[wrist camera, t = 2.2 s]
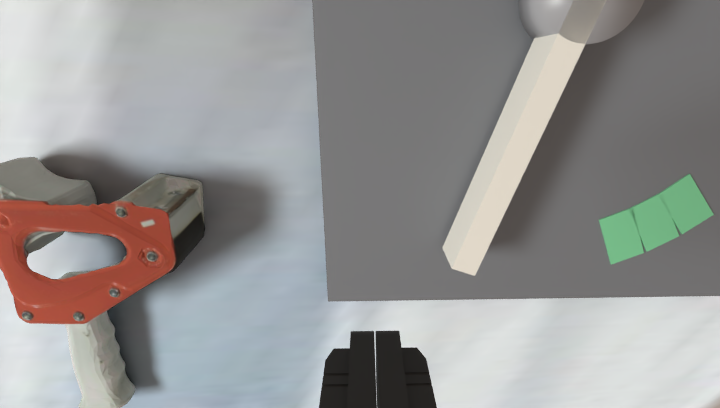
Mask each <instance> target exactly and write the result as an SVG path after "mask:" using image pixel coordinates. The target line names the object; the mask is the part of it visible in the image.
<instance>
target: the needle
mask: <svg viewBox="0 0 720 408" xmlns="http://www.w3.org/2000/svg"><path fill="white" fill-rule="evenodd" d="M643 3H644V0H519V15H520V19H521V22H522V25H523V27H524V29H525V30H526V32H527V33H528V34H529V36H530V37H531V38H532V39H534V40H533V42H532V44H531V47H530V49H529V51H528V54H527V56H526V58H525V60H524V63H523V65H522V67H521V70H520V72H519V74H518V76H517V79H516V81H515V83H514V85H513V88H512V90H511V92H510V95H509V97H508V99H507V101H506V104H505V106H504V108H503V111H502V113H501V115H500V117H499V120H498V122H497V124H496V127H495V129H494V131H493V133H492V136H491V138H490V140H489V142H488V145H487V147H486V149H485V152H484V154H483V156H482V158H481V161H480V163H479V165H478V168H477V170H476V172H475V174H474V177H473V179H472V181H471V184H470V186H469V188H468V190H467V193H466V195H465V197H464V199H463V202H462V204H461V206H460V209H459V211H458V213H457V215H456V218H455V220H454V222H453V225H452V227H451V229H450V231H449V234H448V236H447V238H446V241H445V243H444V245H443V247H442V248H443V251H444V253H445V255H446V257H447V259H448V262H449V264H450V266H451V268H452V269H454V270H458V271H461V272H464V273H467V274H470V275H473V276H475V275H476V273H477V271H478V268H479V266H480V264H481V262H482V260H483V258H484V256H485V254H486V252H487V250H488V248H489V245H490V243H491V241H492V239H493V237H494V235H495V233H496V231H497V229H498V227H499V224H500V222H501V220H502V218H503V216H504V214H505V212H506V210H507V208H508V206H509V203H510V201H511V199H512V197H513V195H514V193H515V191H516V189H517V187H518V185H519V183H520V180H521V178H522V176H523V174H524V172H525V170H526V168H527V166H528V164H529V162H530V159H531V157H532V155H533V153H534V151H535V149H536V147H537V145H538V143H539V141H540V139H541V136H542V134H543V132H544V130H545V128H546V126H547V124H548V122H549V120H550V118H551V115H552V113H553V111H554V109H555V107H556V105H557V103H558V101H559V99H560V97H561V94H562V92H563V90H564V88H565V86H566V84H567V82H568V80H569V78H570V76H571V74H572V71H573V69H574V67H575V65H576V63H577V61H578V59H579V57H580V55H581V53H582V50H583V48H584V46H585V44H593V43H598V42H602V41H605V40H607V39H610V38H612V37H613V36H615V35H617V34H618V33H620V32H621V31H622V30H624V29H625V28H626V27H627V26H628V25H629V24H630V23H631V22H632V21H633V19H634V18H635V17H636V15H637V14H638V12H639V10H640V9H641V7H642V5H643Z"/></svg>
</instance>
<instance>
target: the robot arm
mask: <svg viewBox="0 0 720 408" xmlns="http://www.w3.org/2000/svg"><path fill="white" fill-rule="evenodd" d="M376 385H377V403H376ZM319 408H437V407H436V402H435V398H434V393H433V388H432V385H431V379H430V375H429V370H428V365H427V361H426V358H425V357H424V356H423V355H422V353H421V352H420V351H419V350H418V349H417V348H401V342H400V334H399V331H376V376H375V349H374V331H353V332H351V338H350V349H333V351H332V352H331V353H330V355H329V356H328V358H327V359H326V361H325V368H324V376H323V383H322V390H321V397H320V405H319Z"/></svg>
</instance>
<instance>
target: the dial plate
mask: <svg viewBox="0 0 720 408" xmlns="http://www.w3.org/2000/svg"><path fill="white" fill-rule="evenodd" d="M312 3H313V22H314V41H315V60H316V79H317V98H318V118H319V137H320V156H321V175H322V194H323V213H324V232H325V251H326V270H327V289H328V301H390V300H460V299H529V298H599V297H668V296H720V0H644V3H643V5H642V7H641V9H640V10H639V12H638V14H637V15H636V17H635V18H634V19H633V21H632V22H631V23H630V24H629V25H628V26H627V27H626V28H625V29H624V30H622V31H621V32H620V33H618V34H617V35H615V36H613V37H612V38H610V39H607V40H605V41H602V42H598V43H593V44H585V46H584V48H583V50H582V53H581V55H580V57H579V59H578V61H577V63H576V65H575V67H574V69H573V71H572V74H571V76H570V78H569V80H568V82H567V84H566V86H565V88H564V90H563V92H562V94H561V97H560V99H559V101H558V103H557V105H556V107H555V109H554V111H553V113H552V115H551V118H550V120H549V122H548V124H547V126H546V128H545V130H544V132H543V134H542V136H541V139H540V141H539V143H538V145H537V147H536V149H535V151H534V153H533V155H532V157H531V159H530V162H529V164H528V166H527V168H526V170H525V172H524V174H523V176H522V178H521V180H520V183H519V185H518V187H517V189H516V191H515V193H514V195H513V197H512V199H511V201H510V203H509V206H508V208H507V210H506V212H505V214H504V216H503V218H502V220H501V222H500V224H499V227H498V229H497V231H496V233H495V235H494V237H493V239H492V241H491V243H490V245H489V248H488V250H487V252H486V254H485V256H484V258H483V260H482V262H481V264H480V266H479V268H478V271H477V273H476V275H475V276H473V275H470V274H467V273H464V272H461V271H458V270H454V269H452V268H451V266H450V264H449V262H448V259H447V257H446V255H445V253H444V251H443V248H442V247H443V245H444V243H445V241H446V238H447V236H448V234H449V231H450V229H451V227H452V225H453V222H454V220H455V218H456V215H457V213H458V211H459V209H460V206H461V204H462V202H463V199H464V197H465V195H466V193H467V190H468V188H469V186H470V184H471V181H472V179H473V177H474V174H475V172H476V170H477V168H478V165H479V163H480V161H481V158H482V156H483V154H484V152H485V149H486V147H487V145H488V142H489V140H490V138H491V136H492V133H493V131H494V129H495V127H496V124H497V122H498V120H499V117H500V115H501V113H502V111H503V108H504V106H505V104H506V101H507V99H508V97H509V95H510V92H511V90H512V88H513V85H514V83H515V81H516V79H517V76H518V74H519V72H520V70H521V67H522V65H523V63H524V60H525V58H526V56H527V54H528V51H529V49H530V47H531V44H532V42H533V40H534V39H532V38H531V37H530V36H529V34H528V33H527V32H526V30H525V29H524V27H523V25H522V22H521V19H520V15H519V0H312Z"/></svg>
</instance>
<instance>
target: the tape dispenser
mask: <svg viewBox="0 0 720 408" xmlns="http://www.w3.org/2000/svg"><path fill="white" fill-rule="evenodd" d="M64 231H68V232H85V233H99V234H103V235H108V236H112V237H116V238H117V239H119V240H120V241H121V242H122V243H123V244H124V246H125V247H126V252H127V254H126V256H125V257H124V258H123V260H122V261H121V262H119V263H116V264H114V265H112V266H108V267H104V268H101V269H98V270H96V271H86V272H69V273H66V274H64V275H63V276H62V277H61V278H59V279H50V278H48V277H45V276H42V275H40V274H38V273H36V272H33V271H32V270H31V269H30V268H29V267H28V265H27V257H28V254H29V253H31V252H33V251H36V250H39V249H41V248H42V247H44V246H45V245H47V244H48V243H50V242H52V241H53V240H55V239H56V238H58V237H59V236H61V235H62V234H63V233H64ZM204 231H205V226H204V209H203V186H202V183H201V182H200V181H197V180H194V179H188V178H182V177H176V176H170V175H165V174H156V175H155V176H153V177H152V178H150V179H149V180H148V181H146V182H145V183H143V184H142V185H140V186H139V187H137V188H136V189H134V190H133V191H131V192H130V193H128V194H127V195H125V196H124V197H122V198H121V199H119V200H118V201H114V202H112V203H110V204H107V203H103V204H100V205H97V200H96V195H95V193H94V190H93V188H92V186H91V184H90V183H89V182H88V181H87V180H74V179H67V178H64V177H60V176H57V175H55V174H54V173H52V172H51V171H49V170H48V169H46V168H45V167H44V165H43V164H42V163H41V162H40V161H39V160H38V158H35V157H27V158H17V159H13V160H10V161H7V162H3V163H0V269H1V270H2V271H3V273H4V276H5V279H6V280H7V282H8V286H9V288H10V291H11V293H12V295H13V296H14V303H15V307H16V311H17V314H18V316H19V318H21V319H22V320H23V321H25V322H27V323H43V324H65V326H66V329H67V333H68V342H69V349H70V354H71V359H72V364H73V368H74V371H75V375H76V378H77V381H78V384H79V387H80V390H81V394H82V399H81V402H80V404H79V408H120V407H122V406H124V405H125V404H127V403H128V401H129V400H130V399H131V398H132V396H133V394H134V393H135V385H134V384H133V383H132V382H130V380H129V379H128V377H127V376H126V373H125V362H124V361H123V359H122V357H121V355H120V353H119V351H120V347H119V344H118V342H117V341H116V339H115V335H114V334H115V327H114V326H113V324H112V323H111V321H110V319H109V316H108V314H107V310H109V309H110V308H112V307H113V306H115V305H117V304H118V303H120V302H121V301H123V300H125V299H126V298H128V297H129V296H131V295H132V294H134V293H136V292H137V291H139V290H140V289H142V288H144V287H145V286H147V285H149V284H150V283H152V282H154V281H155V280H157V279H159V278H160V277H162V276H164V275H166V274H168V273H170V272H173V271H174V270H175V269H176V268H177V267H178V266H179V265H180V264H181V263H182V261H183V260H184V259H185V258H186V256H187V255H188V254H189V253H190V252H191V251H192V250H193V248H194V247H195V246H196V245H197V244H198V243H199V241H200V240H201V239H202V238H203V236H204Z"/></svg>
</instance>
